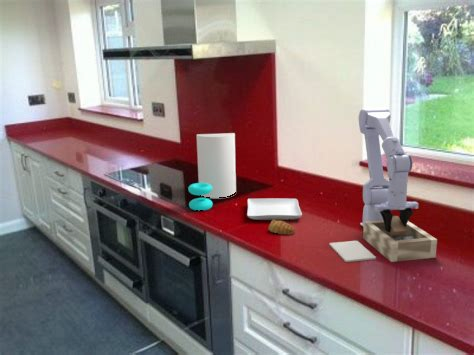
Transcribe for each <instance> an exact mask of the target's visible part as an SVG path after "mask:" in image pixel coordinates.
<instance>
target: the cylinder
mask: <svg viewBox="0 0 474 355" xmlns="http://www.w3.org/2000/svg"><path fill="white" fill-rule="evenodd" d="M196 152H197V153H196V154H197V173H198V174H197V176H198V183H207V184H210V185H211V186H212V190H211V192H210V193H208V194H206V195H201V197H202V196H204V197H203V198H206V197H210V198H209V199H220V198H219V197H226V198H228V197H227V196H230V195H232V194H234V193H235V192H236V193H237V174H236V134H235V132H229V133H228V132H227V133H226V132H225V133H224V132H223V133H200V134H199V133H198V134H196Z"/></svg>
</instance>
